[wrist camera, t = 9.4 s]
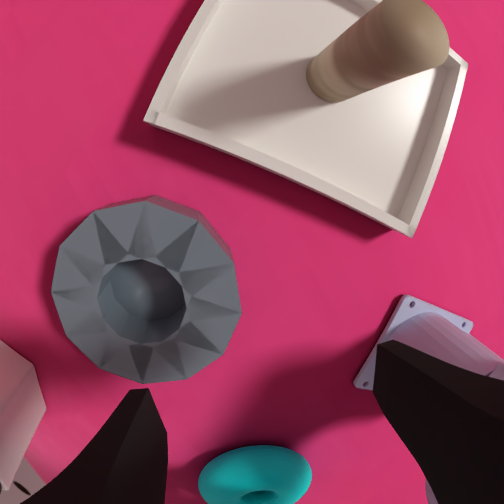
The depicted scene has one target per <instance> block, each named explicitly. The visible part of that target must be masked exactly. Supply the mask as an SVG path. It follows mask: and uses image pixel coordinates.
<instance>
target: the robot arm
mask: <svg viewBox="0 0 504 504" xmlns="http://www.w3.org/2000/svg"><path fill="white" fill-rule="evenodd" d="M411 302H412V304H411V305H410V303H411ZM472 327H473V322H472V321H470V320H468V319H465V318H463V317H461V316H458V315H456V314H454V313H451V312H449V311H447V310H444V309H442V308H439V307H437V306H435V305H432V304H430V303H427V302H425V301H423V300H420V299H418V298H415V297H413V296H411V295H408V294H406V295H404V296H402V297H401V299H400V301H399V303H398V305H397V307H396V308H395V310H394V312H393V314H392V316H391V318H390V320H389V322H388V323H387V325H386V327H385V329H384V331H383V333H382V334H381V336H380V338H379V340H378V341H377V343H376V345H375V347H374V348H373V350H372V352H371V353H370V355H369V357H368V358H367V360H366V362H365V363H364V365H363V367H362V368H361V370H360V371H359V373H358V375H357V376H356V378H355V379H354V382H353V384H354V385H355V387H356V388H360V389H366V390H373V393H374V395H375V398H376V400H377V402H378V404H379V406H380V408H381V410H382V411H383V413H384V415H385V417H386V418H387V420H388V421H389V422H390V424H391V425H392V427H393V428H394V430H395V431H396V433H397V434H398V435H399V437H400V438H401V440H402V441H403V442H404V444H405V445H406V447H407V448H408V450H409V451H410V452H411V454H412V455H413V457H414V458H415V459H416V461H417V463H418V464H419V466H420V468H421V469H422V471H423V473H424V475H425V477H426V481H425V489H426V496H427V500H428V503H429V504H504V360H503V359H502V358H501V357H499V356H498V355H497V354H495V353H494V352H493V351H491V350H490V349H489V348H487V347H486V346H485V345H483V344H482V343H481V342H479V341H478V340H477V339H475V338H474V337H473V336H471V335H470V334H469V333H470V331H471V329H472ZM364 382H366V383H364ZM167 466H168V444H167V431H166V429H165V427H164V425H163V422H162V420H161V418H160V415H159V413H158V410H157V408H156V406H155V403H154V401H153V398H152V396H151V393H150V390H149V388H145V389H133V390H130V391H129V392H128V393H127V394H126V396H125V397H124V398H123V400H122V401H121V402H120V404H119V405H118V406H117V408H116V409H115V410H114V412H113V413H112V415H111V416H110V417H109V419H108V420H107V421H106V422H105V424H104V425H103V426H102V428H101V429H100V430H99V431H98V433H97V434H96V435H95V436H94V438H93V439H92V440H91V441H90V442H89V443H88V445H87V446H86V447H85V448H84V449H83V450H82V452H81V453H80V454H79V455H78V456H77V457H76V458H75V459H74V460H73V461H72V462H71V463H70V464H69V465H68V466H67V467H66V468H65V469H64V470H63V471H62V472H61V473H60V474H59V475H58V476H57V477H55V478H54V479H53V480H52V481H51V482H49V483H48V484H47V485H46V486H44V487H43V488H42V489H40V490H39V491H38V492H36V493H35V494H34V495H32V496H31V497H30V498H28V499H27V500H25V501H23V502H22V503H20V504H164V501H165V489H166V478H167Z"/></svg>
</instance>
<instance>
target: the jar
mask: <svg viewBox="0 0 504 504" xmlns="http://www.w3.org/2000/svg"><path fill="white" fill-rule="evenodd" d="M46 409H47V408H46V405H45V402H44V398H43V395H42V392H41V389H40V385H39V382H38V378H37V375H36V371H35V367H34V365H33V364H32V363H31V362H29V361H28V360H27V359H25V358H24V357H22V356H21V355H20V354H18V353H17V352H16V351H14V350H13V349H12V348H11V347H9V346H8V345H7V344H5V343H4V342H3V341H2V340H0V493H1V491H8V490H9V488H10V486H11V484H12V481H13V479H14V477H15V474H16V472H17V470H18V467H19V465H20V463H21V461H22V458H23V456H24V454H25V452H26V450H27V448H28V446H29V444H30V441H31V439H32V437H33V435H34V433H35V431H36V429H37V427H38V425H39V423H40V421H41V419H42V417H43V415H44V413H45V411H46Z"/></svg>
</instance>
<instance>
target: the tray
mask: <svg viewBox="0 0 504 504" xmlns="http://www.w3.org/2000/svg"><path fill="white" fill-rule="evenodd" d="M381 1H382V0H205V1H204V2H203V4H202V6H201V7H200V9H199V11H198V12H197V14H196V16H195V17H194V19H193V21H192V23H191V24H190V26H189V28H188V30H187V31H186V33H185V35H184V37H183V39H182V40H181V42H180V44H179V46H178V48H177V50H176V52H175V54H174V56H173V58H172V60H171V61H170V63H169V65H168V67H167V69H166V72H165V74H164V76H163V78H162V80H161V82H160V84H159V86H158V88H157V90H156V93H155V95H154V97H153V99H152V101H151V104H150V106H149V108H148V110H147V113H146V115H145V117H144V120H143V121H145V122H146V123H148V124H149V125H151V126H153V127H156V128H159V129H162V130H164V131H167V132H170V133H173V134H176V135H178V136H181V137H184V138H187V139H189V140H192V141H195V142H197V143H200V144H203V145H205V146H208V147H210V148H213V149H216V150H218V151H221V152H223V153H226V154H228V155H231V156H233V157H236V158H238V159H241V160H243V161H245V162H248V163H250V164H253V165H255V166H258V167H260V168H262V169H265V170H267V171H269V172H272V173H274V174H276V175H279V176H281V177H283V178H285V179H288V180H290V181H292V182H294V183H297V184H299V185H301V186H303V187H306V188H308V189H310V190H312V191H314V192H316V193H319V194H321V195H323V196H325V197H327V198H329V199H331V200H333V201H336V202H338V203H340V204H342V205H344V206H346V207H348V208H350V209H352V210H354V211H356V212H358V213H360V214H362V215H364V216H366V217H368V218H370V219H372V220H374V221H376V222H378V223H380V224H382V225H384V226H386V227H388V228H390V229H392V230H394V231H396V232H399V233H401V234H403V235H406V236H408V237H411V238H412V237H413V235H414V233H415V230H416V228H417V226H418V223H419V221H420V218H421V216H422V213H423V211H424V208H425V206H426V203H427V201H428V198H429V195H430V193H431V190H432V187H433V185H434V182H435V179H436V176H437V173H438V170H439V168H440V165H441V162H442V159H443V156H444V153H445V149H446V146H447V143H448V140H449V137H450V133H451V130H452V126H453V123H454V119H455V116H456V112H457V109H458V105H459V101H460V97H461V93H462V89H463V85H464V80H465V76H466V71H467V67H468V63H467V62H466V61H464V60H463V59H462V58H461V57H460V56H459V55H458V54H457V53H455V52H454V51H453V50H452V49H451V48H450V47H449V54H448V57H447V59H446V61H445V62H444V63H443V64H442V65H440V66H438V67H435V68H432V69H429V70H426V71H423V72H420V73H417V74H414V75H411V76H408V77H405V78H402V79H400V80H397V81H394V82H391V83H389V84H386V85H383V86H380V87H378V88H375V89H373V90H370V91H367V92H365V93H362V94H360V95H357V96H355V97H352V98H350V99H347V100H345V101H342V102H338V103H331V102H327V101H324V100H322V99H320V98H319V97H317V96H316V95H315V94H314V93H313V92H312V90H311V89H310V87H309V85H308V83H307V79H306V70H307V67H308V65H309V63H310V62H311V61H312V60H313V59H314V58H315V57H316V56H317V55H318V54H319V53H320V52H321V51H323V50H324V49H325V48H326V47H327V46H328V45H329V44H331V43H332V42H333V41H334V40H335V39H336V38H337V37H339V36H340V35H341V34H342V33H343V32H344V31H346V30H347V29H348V28H349V27H350V26H352V25H353V24H354V23H355V22H356V21H358V20H359V19H360V18H361V17H362V16H364V15H365V14H366V13H367V12H369V11H370V10H371V9H372V8H374V7H375V6H376V5H377V4H379V3H380V2H381Z"/></svg>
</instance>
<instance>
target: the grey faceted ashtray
mask: <svg viewBox="0 0 504 504" xmlns="http://www.w3.org/2000/svg"><path fill="white" fill-rule="evenodd" d="M51 293H52V297H53V300H54V303H55V306H56V309H57V312H58V315H59V317H60V320H61V323H62V326H63V328H64V331H65V334H66V336H67V337H68V338H69V339H70V340H71V341H72V342H73V343H74V344H75V345H76V346H77V347H78V348H79V349H80V350H81V351H82V352H83V353H84V354H85V355H86V356H87V357H88V358H89V359H90V360H91V361H92V362H93V363H94V364H95V365H96V366H97V367H98V368H99V369H102V370H105V371H107V372H110V373H113V374H116V375H118V376H121V377H124V378H127V379H130V380H133V381H136V382H138V383H141V384H147V383H157V382H167V381H176V380H185V379H188V378H190V377H191V376H193V375H194V374H196V373H197V372H198V371H200V370H201V369H203V368H204V367H206V366H207V365H209V364H210V363H212V362H213V361H215V360H216V359H217V358H219V357H220V356H222V355H223V354H224V352H225V350H226V347H227V345H228V343H229V341H230V338H231V336H232V334H233V332H234V329H235V327H236V325H237V323H238V320H239V318H240V316H241V314H242V312H241V305H240V299H239V292H238V286H237V279H236V273H235V266H234V261H233V257H232V254H231V250H230V248H229V246H228V245H227V244H226V243H225V242H224V240H223V239H222V238H221V237H220V235H219V234H218V233H217V232H216V231H215V229H214V228H213V227H212V226H211V224H210V223H209V222H208V221H207V220H206V218H205V217H204V216H203V215H202V213H201V212H200V211H197V210H194V209H192V208H189V207H186V206H184V205H181V204H178V203H176V202H173V201H170V200H168V199H165V198H162V197H160V196H157V195H152V196H147V197H141V198H136V199H131V200H126V201H121V202H116V203H111V204H108V205H106V206H104V207H102V208H99V209H97V210H95V211H93V212H92V213H91V214H90V215H89V216H88V217H87V218H86V219H85V220H84V221H83V222H82V223H81V224H80V225H79V226H78V227H77V228H76V229H75V230H74V231H73V232H72V233H71V234H70V235H69V237H68V238H67V239H66V240H65V241H64V242H63V243H62V244H61V245H60V246H59V251H58V256H57V261H56V266H55V271H54V277H53V283H52V289H51Z"/></svg>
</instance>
